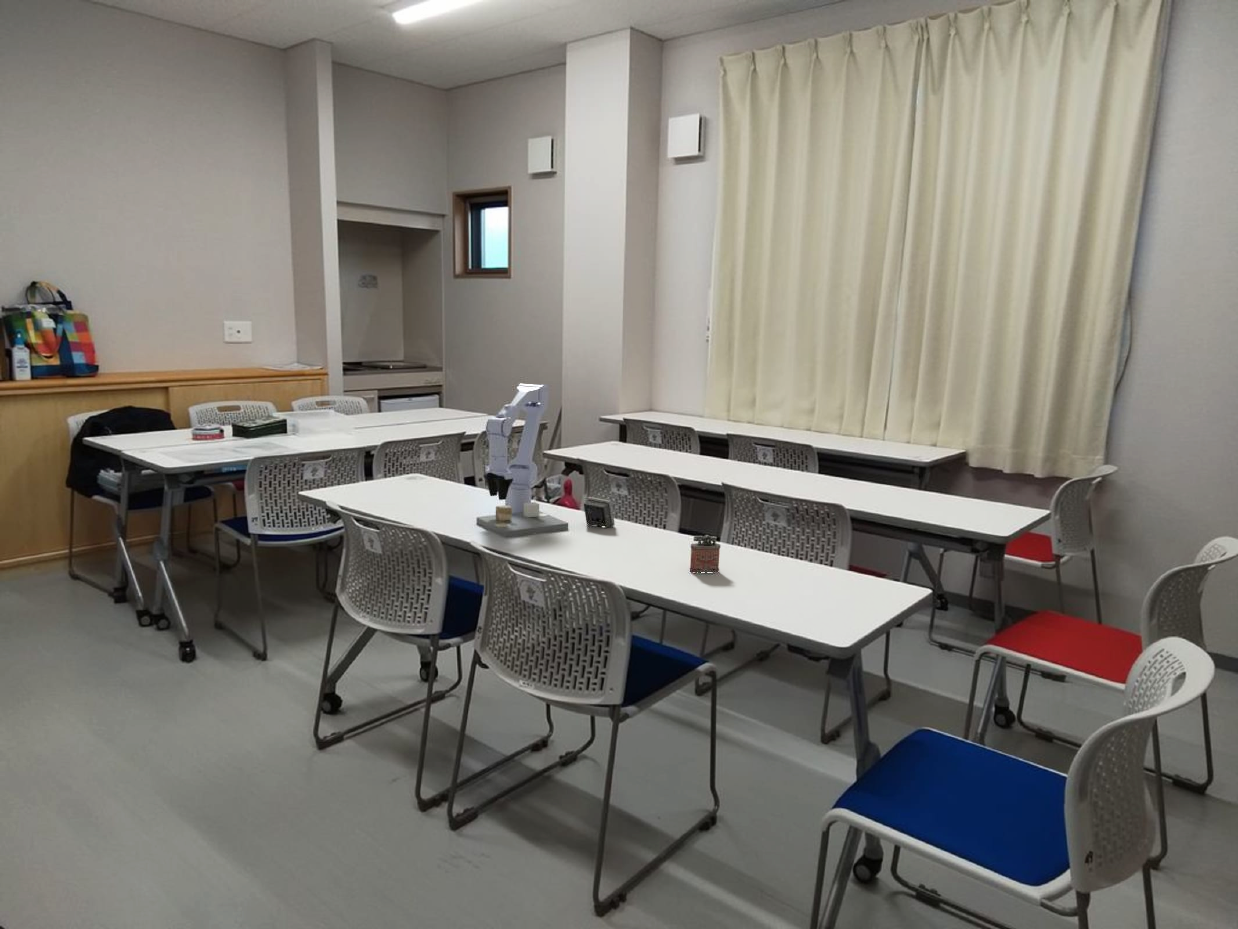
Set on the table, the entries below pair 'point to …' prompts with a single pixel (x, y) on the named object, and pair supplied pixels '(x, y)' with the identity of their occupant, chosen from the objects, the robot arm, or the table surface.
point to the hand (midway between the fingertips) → (498, 497)
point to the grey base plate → (522, 524)
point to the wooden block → (503, 512)
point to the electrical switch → (599, 512)
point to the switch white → (531, 509)
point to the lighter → (705, 555)
